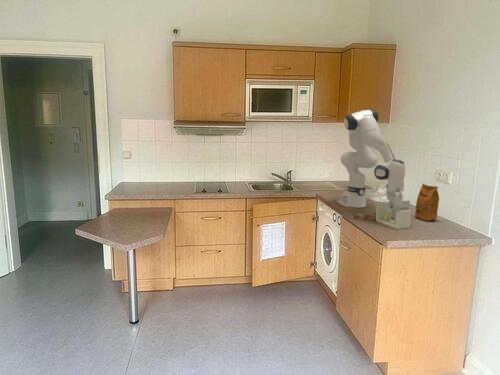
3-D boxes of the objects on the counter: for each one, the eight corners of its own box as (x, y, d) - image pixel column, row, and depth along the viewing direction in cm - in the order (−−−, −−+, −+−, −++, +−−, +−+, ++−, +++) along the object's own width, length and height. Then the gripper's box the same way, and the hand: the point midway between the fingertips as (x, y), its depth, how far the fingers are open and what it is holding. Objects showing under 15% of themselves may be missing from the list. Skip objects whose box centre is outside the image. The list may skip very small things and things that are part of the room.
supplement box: (398, 220, 223) (400, 200, 221) (390, 217, 230) (392, 198, 228) (408, 219, 225) (410, 200, 223) (400, 216, 232) (402, 197, 230)
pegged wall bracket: (375, 220, 221) (376, 205, 219) (388, 219, 224) (389, 204, 223) (396, 228, 204) (398, 211, 203) (410, 227, 208) (411, 210, 206)
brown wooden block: (356, 220, 221) (356, 215, 221) (353, 218, 226) (354, 213, 226) (377, 221, 222) (378, 215, 221) (374, 218, 227) (375, 213, 226)
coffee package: (423, 215, 236) (426, 183, 232) (439, 220, 225) (443, 186, 221) (411, 216, 233) (415, 183, 229) (427, 221, 221) (431, 186, 217)
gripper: (406, 190, 200) (404, 214, 202) (396, 184, 220) (394, 206, 222) (395, 190, 201) (392, 214, 203) (385, 184, 221) (383, 206, 223)
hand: (393, 210), depth 213 cm, fingers open, 8 cm apart
